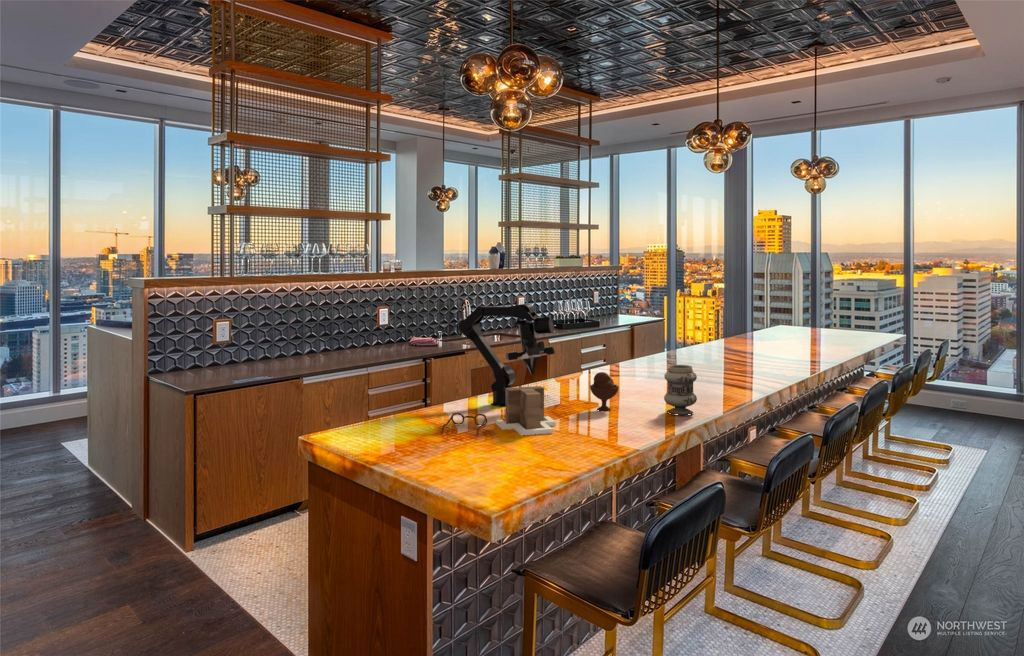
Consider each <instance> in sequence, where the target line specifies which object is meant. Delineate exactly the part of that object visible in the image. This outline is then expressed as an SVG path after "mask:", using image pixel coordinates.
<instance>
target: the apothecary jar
mask: <svg viewBox="0 0 1024 656" xmlns="http://www.w3.org/2000/svg"><path fill="white" fill-rule="evenodd" d="M697 378H698V376H697V374H696V373H695V371H693V366H692V365H688V364H673V365H672V364H671V365H669V367H668V370H667V371H666V372H665V374H664V379H665V380H666V381H667V392H666V393H665V394H664V396H663V401H664V402H665V403H666V404H667V405H669V406H671V407H672V408H670V409H668V410H666V413H667V412H669V413H671V414H678V415H688V414H692V413H694V412H693V410H691V409H690V408H689V409H688V408H687V407H691V406H693V405H694V404H696V403H697V400H698V398H697V395H696V394H695V393H694V382H695V381H696V380H697Z"/></svg>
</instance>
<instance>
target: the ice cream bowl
mask: <svg viewBox="0 0 1024 656" xmlns="http://www.w3.org/2000/svg"><path fill="white" fill-rule="evenodd" d="M589 388H590V391H591V393H592V395H593V396H595V397H596V398H597V399H598V400H601V406H599V407H597V408H596V410H599V411H598V412H601V411H609V412H611V411H612V408H610V407H608V405H607V402H608V400H610V399H612V398H614V397H615V396H616V395H617V393H618V391H619V388H620V386H619V385H617V384H614V379H613V378H612V377H611V376H610V375H609V374H608V373H607V372H603V371H600V372H597V373H596V374H595V375H594V377H593V384H590V385H589ZM610 410H611V411H610Z"/></svg>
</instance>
